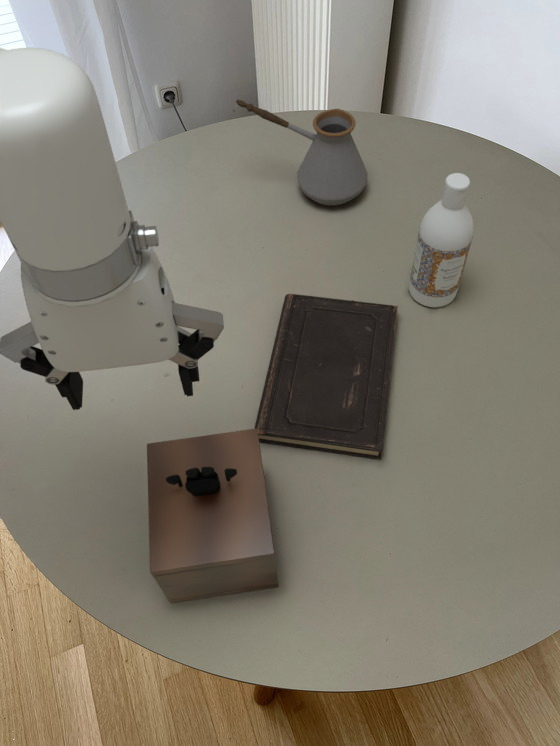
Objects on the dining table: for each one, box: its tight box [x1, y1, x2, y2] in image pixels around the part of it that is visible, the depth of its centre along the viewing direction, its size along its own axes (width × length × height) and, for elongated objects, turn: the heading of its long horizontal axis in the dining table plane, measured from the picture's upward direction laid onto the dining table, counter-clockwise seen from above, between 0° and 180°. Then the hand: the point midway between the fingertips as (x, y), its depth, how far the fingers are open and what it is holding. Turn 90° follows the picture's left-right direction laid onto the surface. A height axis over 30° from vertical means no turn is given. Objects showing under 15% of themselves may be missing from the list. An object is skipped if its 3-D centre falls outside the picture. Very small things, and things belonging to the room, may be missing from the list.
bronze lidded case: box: [146, 428, 279, 604], centre depth 71 cm, size 12×14×11 cm
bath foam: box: [408, 172, 475, 308], centre depth 87 cm, size 7×7×20 cm
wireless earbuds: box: [166, 467, 237, 496], centre depth 64 cm, size 7×2×5 cm, turn 97°
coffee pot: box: [232, 99, 369, 207], centre depth 103 cm, size 21×12×15 cm, turn 77°
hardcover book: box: [253, 293, 399, 460], centre depth 86 cm, size 16×23×2 cm
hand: (133, 389), depth 57 cm, fingers open, 9 cm apart
